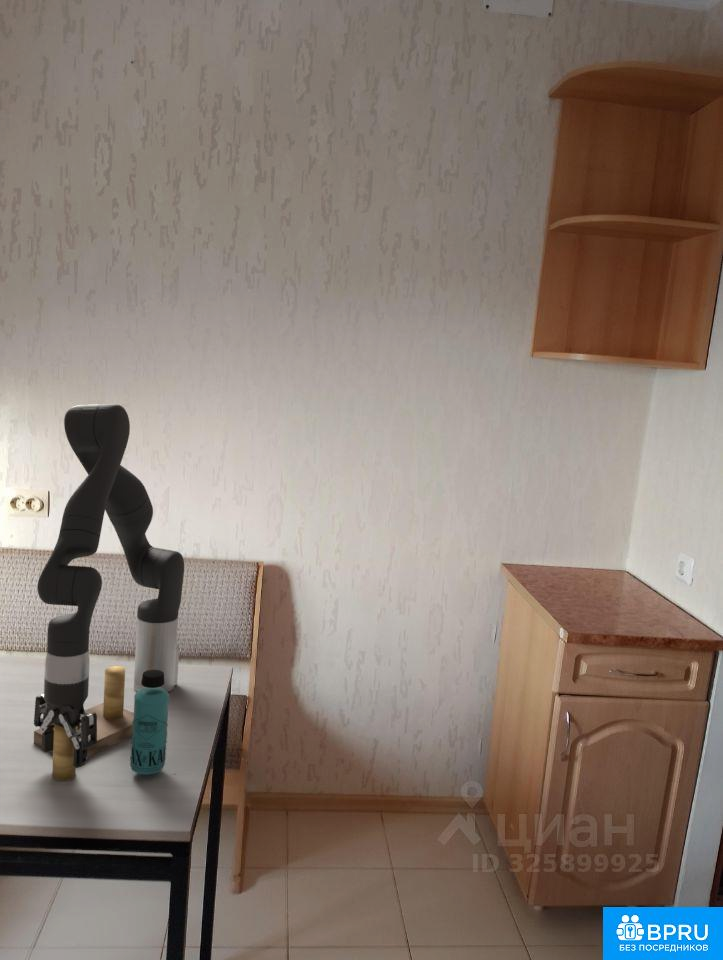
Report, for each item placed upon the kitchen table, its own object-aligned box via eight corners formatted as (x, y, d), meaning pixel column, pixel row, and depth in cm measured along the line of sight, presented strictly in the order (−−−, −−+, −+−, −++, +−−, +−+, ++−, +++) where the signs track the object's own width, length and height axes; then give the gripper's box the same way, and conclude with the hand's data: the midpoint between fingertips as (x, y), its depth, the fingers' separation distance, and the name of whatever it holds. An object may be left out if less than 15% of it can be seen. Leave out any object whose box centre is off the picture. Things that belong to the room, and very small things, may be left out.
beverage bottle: (127, 766, 150) (132, 666, 147) (163, 763, 152) (168, 664, 149) (130, 784, 144) (135, 680, 141) (167, 780, 146) (173, 678, 143)
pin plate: (106, 712, 171) (108, 657, 169) (145, 729, 165) (148, 672, 163) (33, 742, 156) (35, 682, 154) (74, 763, 150) (76, 700, 148)
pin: (65, 767, 148) (67, 717, 146) (80, 774, 146) (82, 723, 144) (47, 775, 144) (49, 724, 143) (62, 783, 142) (64, 731, 141)
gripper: (110, 678, 142) (106, 763, 144) (58, 657, 149) (55, 738, 151) (76, 691, 135) (72, 779, 138) (23, 669, 143) (20, 753, 145)
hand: (63, 758), depth 145 cm, fingers open, 8 cm apart
